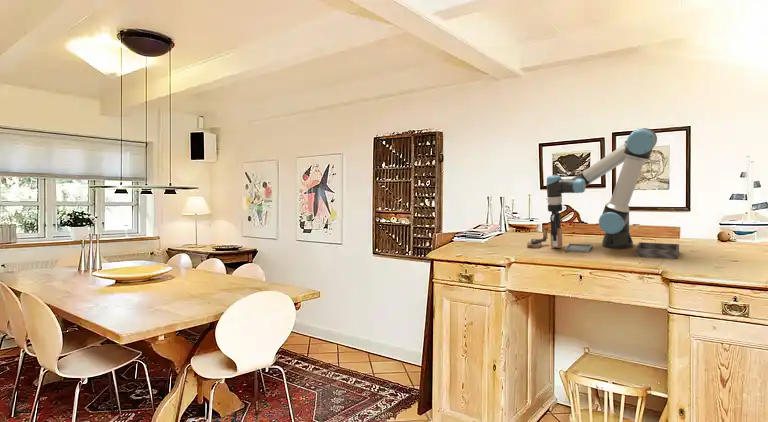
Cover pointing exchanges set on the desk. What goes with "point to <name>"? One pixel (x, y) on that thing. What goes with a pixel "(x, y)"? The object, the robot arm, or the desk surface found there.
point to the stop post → (559, 233)
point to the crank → (543, 237)
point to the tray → (578, 247)
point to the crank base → (534, 245)
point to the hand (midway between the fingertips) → (556, 245)
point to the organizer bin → (657, 250)
